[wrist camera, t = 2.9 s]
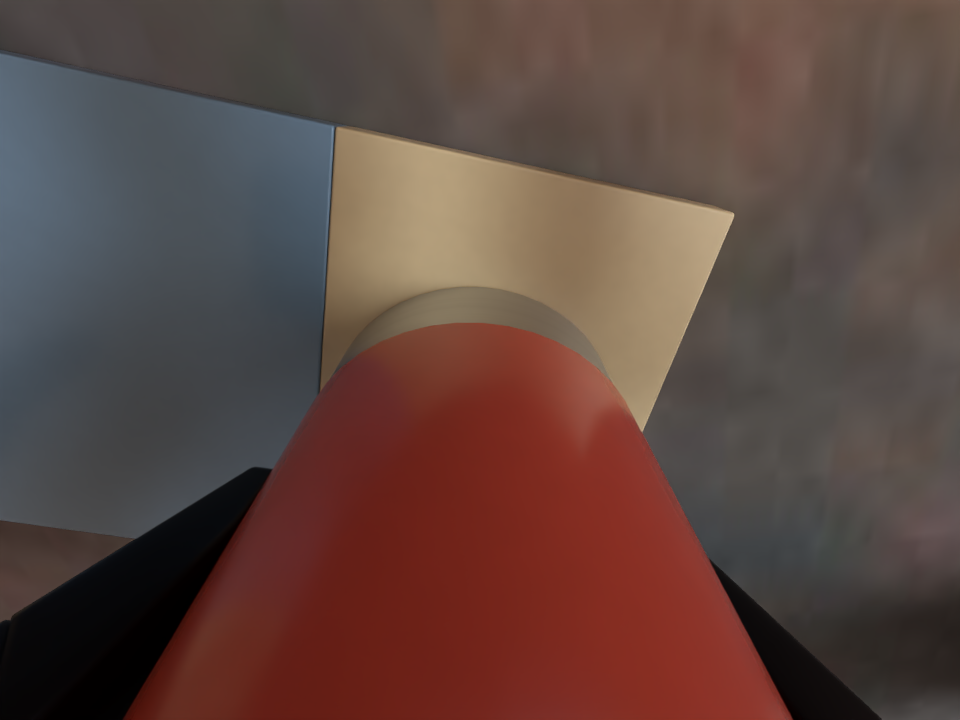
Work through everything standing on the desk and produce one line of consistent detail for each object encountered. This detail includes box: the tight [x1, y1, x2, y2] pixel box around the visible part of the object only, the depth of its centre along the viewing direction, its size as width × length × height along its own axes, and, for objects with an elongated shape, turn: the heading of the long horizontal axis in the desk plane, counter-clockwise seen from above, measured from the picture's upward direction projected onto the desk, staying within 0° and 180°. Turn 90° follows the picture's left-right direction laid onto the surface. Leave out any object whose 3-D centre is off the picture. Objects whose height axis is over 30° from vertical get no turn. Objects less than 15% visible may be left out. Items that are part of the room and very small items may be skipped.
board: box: [0, 50, 734, 539], centre depth 11 cm, size 24×11×1 cm, turn 79°
